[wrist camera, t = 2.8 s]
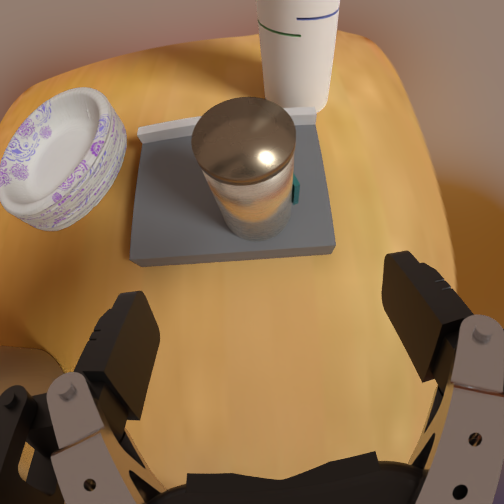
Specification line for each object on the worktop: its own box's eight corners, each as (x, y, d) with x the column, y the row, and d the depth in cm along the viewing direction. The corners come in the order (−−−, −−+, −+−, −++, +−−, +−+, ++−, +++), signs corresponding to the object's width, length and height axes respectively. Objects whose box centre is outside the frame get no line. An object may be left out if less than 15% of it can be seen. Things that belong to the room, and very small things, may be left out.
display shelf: (141, 266, 27) (121, 255, 23) (152, 147, 31) (138, 126, 27) (331, 253, 26) (339, 239, 22) (311, 130, 30) (314, 105, 26)
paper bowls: (128, 236, 28) (84, 203, 21) (25, 244, 30) (-20, 221, 22) (149, 116, 33) (124, 69, 25) (54, 139, 34) (22, 106, 26)
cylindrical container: (335, 114, 30) (363, -109, 6) (270, 120, 31) (246, -116, 7) (318, 73, 32) (327, -116, 8) (260, 78, 33) (236, -117, 9)
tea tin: (237, 253, 24) (210, 195, 15) (213, 195, 26) (179, 119, 16) (304, 224, 24) (316, 153, 15) (275, 169, 26) (270, 85, 16)
